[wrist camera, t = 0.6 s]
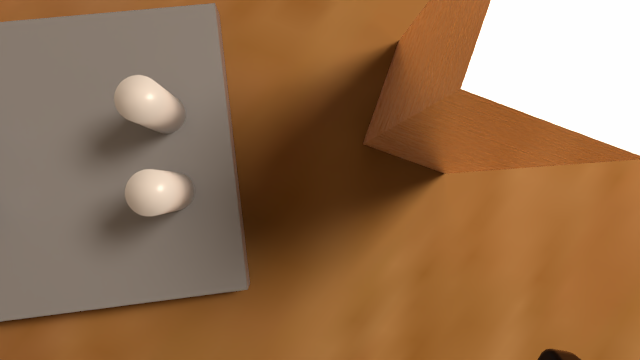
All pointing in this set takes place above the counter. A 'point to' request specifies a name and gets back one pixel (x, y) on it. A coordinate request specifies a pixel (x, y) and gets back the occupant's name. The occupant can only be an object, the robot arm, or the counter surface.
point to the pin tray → (116, 162)
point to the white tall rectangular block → (513, 85)
